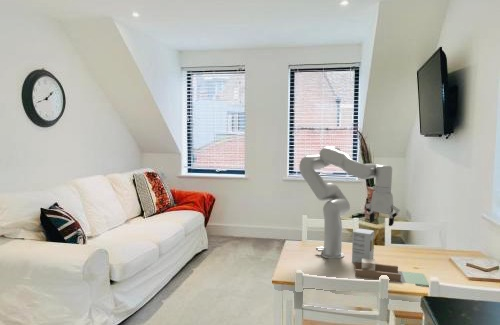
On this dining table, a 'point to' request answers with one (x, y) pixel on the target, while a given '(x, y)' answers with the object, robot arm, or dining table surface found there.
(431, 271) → the dining table surface
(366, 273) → the channel board
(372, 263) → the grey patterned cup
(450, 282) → the dining table surface
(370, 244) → the supplement box
